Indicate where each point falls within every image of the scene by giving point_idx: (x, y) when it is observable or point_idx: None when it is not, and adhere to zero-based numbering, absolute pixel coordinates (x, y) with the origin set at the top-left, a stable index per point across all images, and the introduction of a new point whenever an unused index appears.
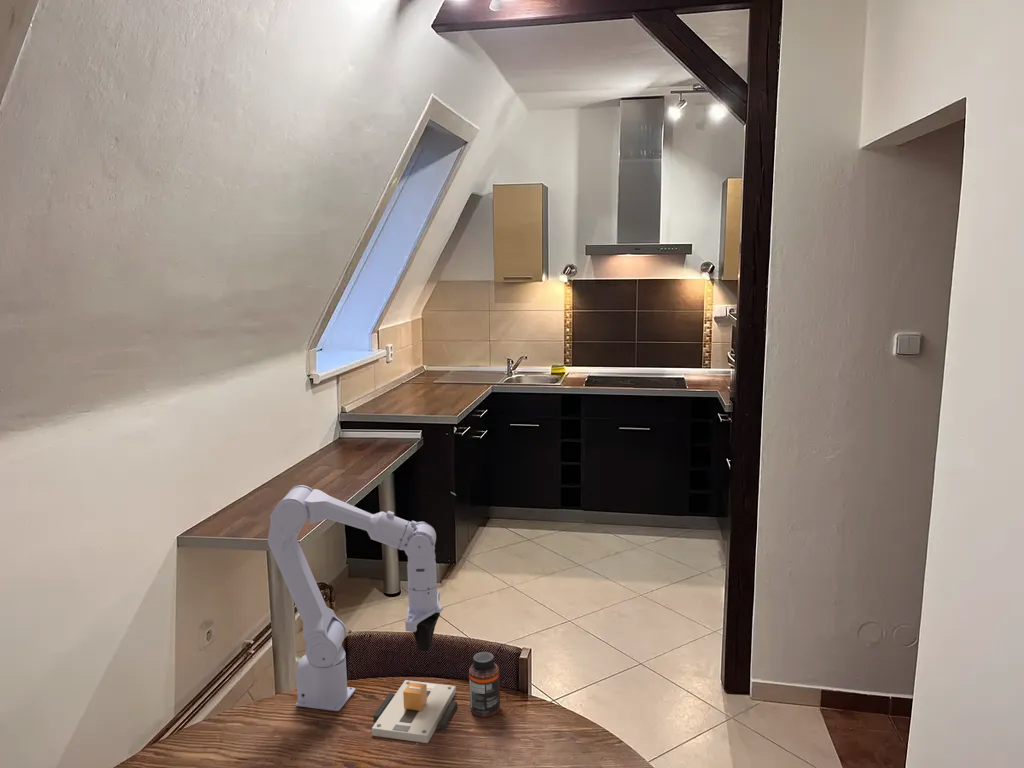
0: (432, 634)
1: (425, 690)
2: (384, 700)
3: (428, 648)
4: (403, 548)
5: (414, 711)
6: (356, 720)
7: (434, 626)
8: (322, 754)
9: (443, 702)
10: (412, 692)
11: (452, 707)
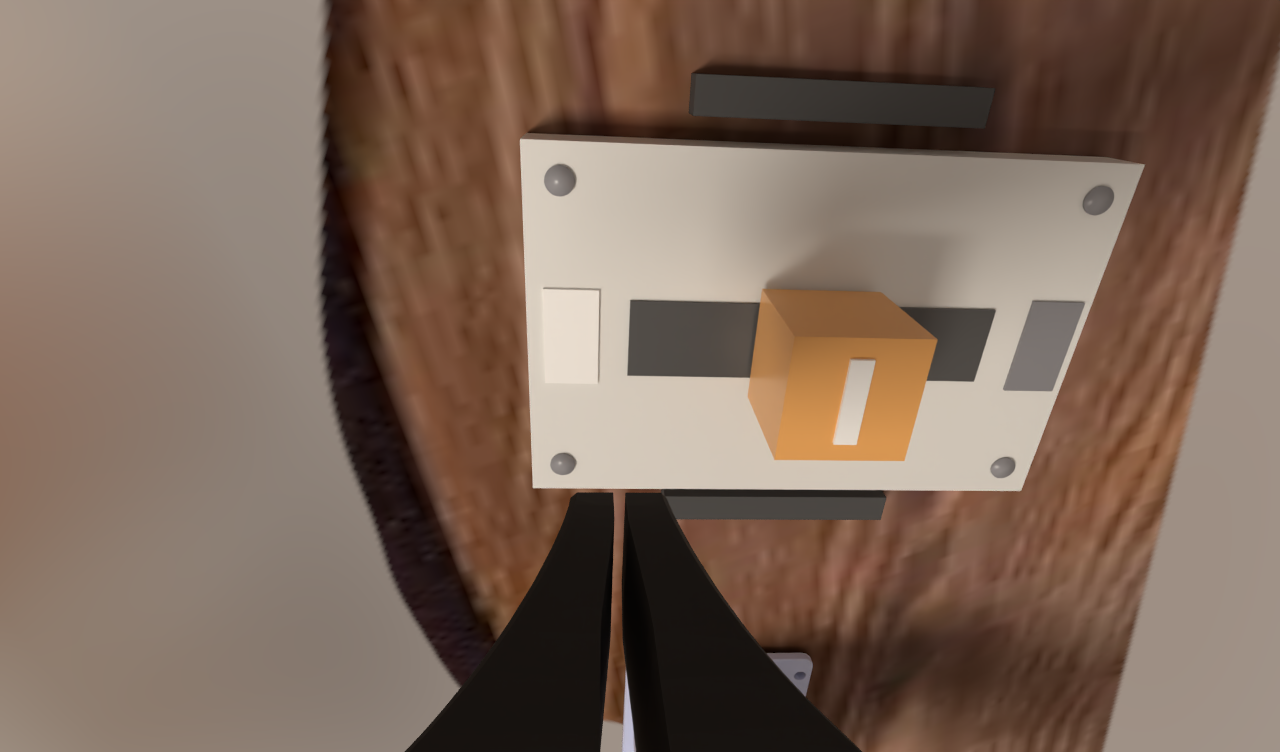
0: (581, 603)
1: (811, 322)
2: (737, 517)
3: (670, 509)
4: None
5: None
6: (869, 567)
7: (522, 700)
8: (1111, 594)
9: (753, 169)
10: (914, 400)
11: (779, 87)
